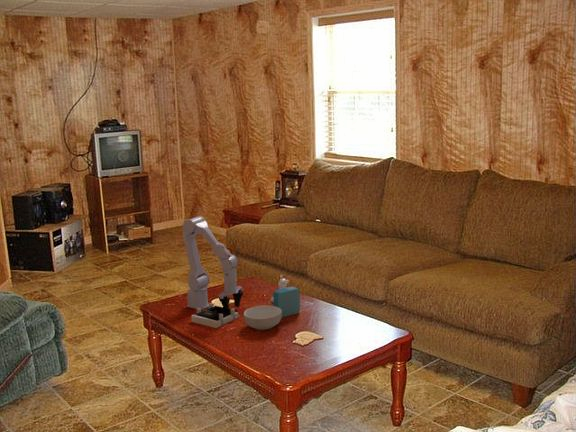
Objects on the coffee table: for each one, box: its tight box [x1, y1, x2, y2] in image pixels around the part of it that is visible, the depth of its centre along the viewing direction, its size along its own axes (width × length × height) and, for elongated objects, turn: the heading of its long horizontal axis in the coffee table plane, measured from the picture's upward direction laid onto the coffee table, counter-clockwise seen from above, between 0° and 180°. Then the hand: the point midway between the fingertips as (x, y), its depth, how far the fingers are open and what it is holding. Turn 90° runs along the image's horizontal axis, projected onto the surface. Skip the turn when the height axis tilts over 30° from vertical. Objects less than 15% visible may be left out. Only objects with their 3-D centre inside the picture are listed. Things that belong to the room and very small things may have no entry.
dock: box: [191, 302, 239, 329], centre depth 291 cm, size 16×15×5 cm
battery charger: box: [196, 305, 231, 321], centre depth 292 cm, size 13×10×4 cm
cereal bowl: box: [243, 305, 283, 331], centre depth 281 cm, size 17×17×7 cm
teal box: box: [272, 286, 301, 319], centre depth 295 cm, size 12×4×12 cm, turn 125°
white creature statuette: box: [270, 278, 290, 304], centre depth 312 cm, size 10×9×12 cm
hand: (231, 309), depth 301 cm, fingers open, 7 cm apart
